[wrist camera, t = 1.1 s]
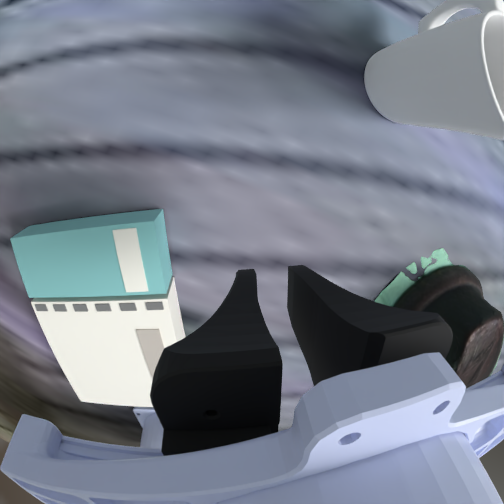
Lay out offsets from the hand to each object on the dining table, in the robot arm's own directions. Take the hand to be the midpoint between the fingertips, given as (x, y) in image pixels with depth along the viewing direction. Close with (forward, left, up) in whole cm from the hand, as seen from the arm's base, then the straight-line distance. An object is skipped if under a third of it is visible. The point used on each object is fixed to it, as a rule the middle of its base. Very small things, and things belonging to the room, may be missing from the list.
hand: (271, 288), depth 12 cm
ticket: (-10, +12, -9) cm, 18 cm away
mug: (+12, -12, -10) cm, 20 cm away
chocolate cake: (-13, -19, -10) cm, 26 cm away
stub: (-1, +12, -9) cm, 15 cm away
